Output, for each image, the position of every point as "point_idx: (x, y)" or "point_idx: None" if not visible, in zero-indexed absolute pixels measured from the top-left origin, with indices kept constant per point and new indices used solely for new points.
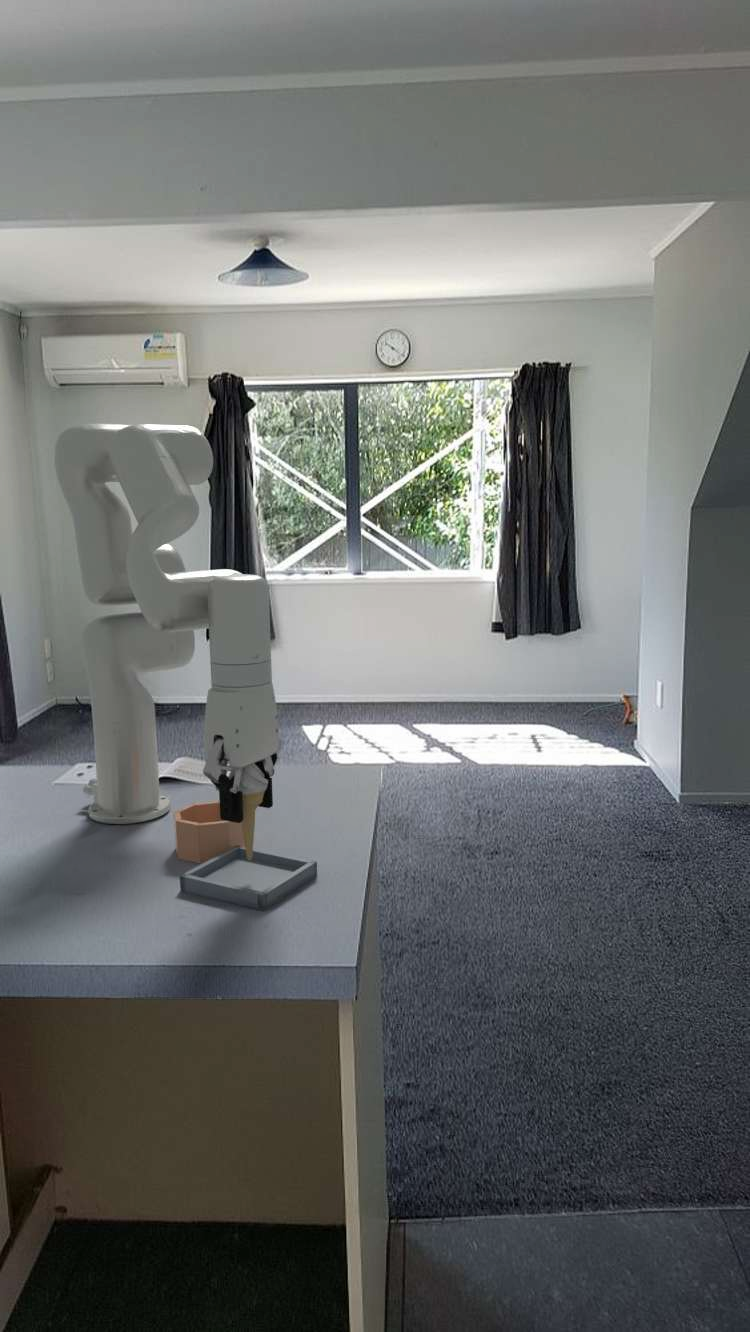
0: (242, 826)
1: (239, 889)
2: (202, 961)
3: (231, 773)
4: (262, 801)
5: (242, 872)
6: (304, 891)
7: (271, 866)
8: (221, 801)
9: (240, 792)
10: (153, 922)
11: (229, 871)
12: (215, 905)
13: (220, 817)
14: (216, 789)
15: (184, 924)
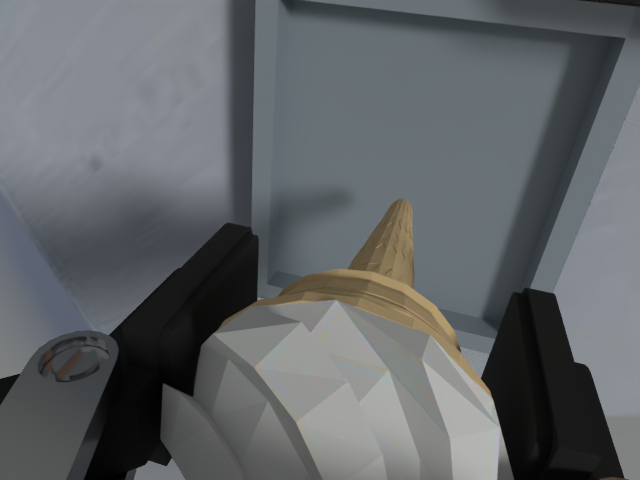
0: (353, 259)
1: (252, 226)
2: (42, 241)
3: (186, 476)
4: (488, 382)
5: (441, 135)
6: None
7: (522, 208)
8: (137, 310)
9: (152, 459)
10: (84, 34)
11: (437, 84)
12: (240, 144)
13: (225, 224)
14: (68, 335)
15: (121, 124)
